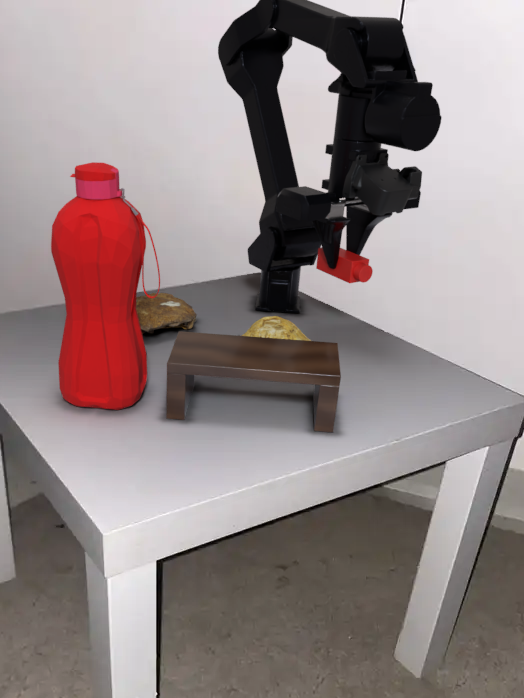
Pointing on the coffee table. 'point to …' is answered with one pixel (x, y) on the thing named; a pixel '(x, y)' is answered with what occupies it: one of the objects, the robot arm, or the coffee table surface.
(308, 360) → the shelf
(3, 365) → the coffee table surface
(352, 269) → the red square bottle
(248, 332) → the fossil
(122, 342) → the water bottle
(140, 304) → the decorative rock
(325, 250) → the robot arm
